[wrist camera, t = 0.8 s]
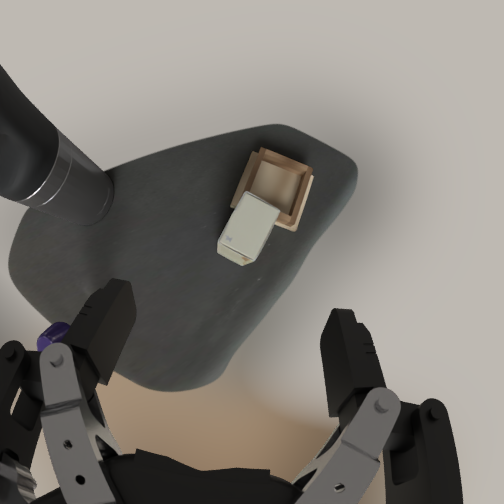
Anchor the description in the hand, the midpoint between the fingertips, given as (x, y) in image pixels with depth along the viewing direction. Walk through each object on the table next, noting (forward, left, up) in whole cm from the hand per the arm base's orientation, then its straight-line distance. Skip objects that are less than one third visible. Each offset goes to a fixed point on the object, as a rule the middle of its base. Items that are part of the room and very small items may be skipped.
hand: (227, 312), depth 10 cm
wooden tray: (+3, +15, -28) cm, 32 cm away
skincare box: (+1, +6, -29) cm, 29 cm away
